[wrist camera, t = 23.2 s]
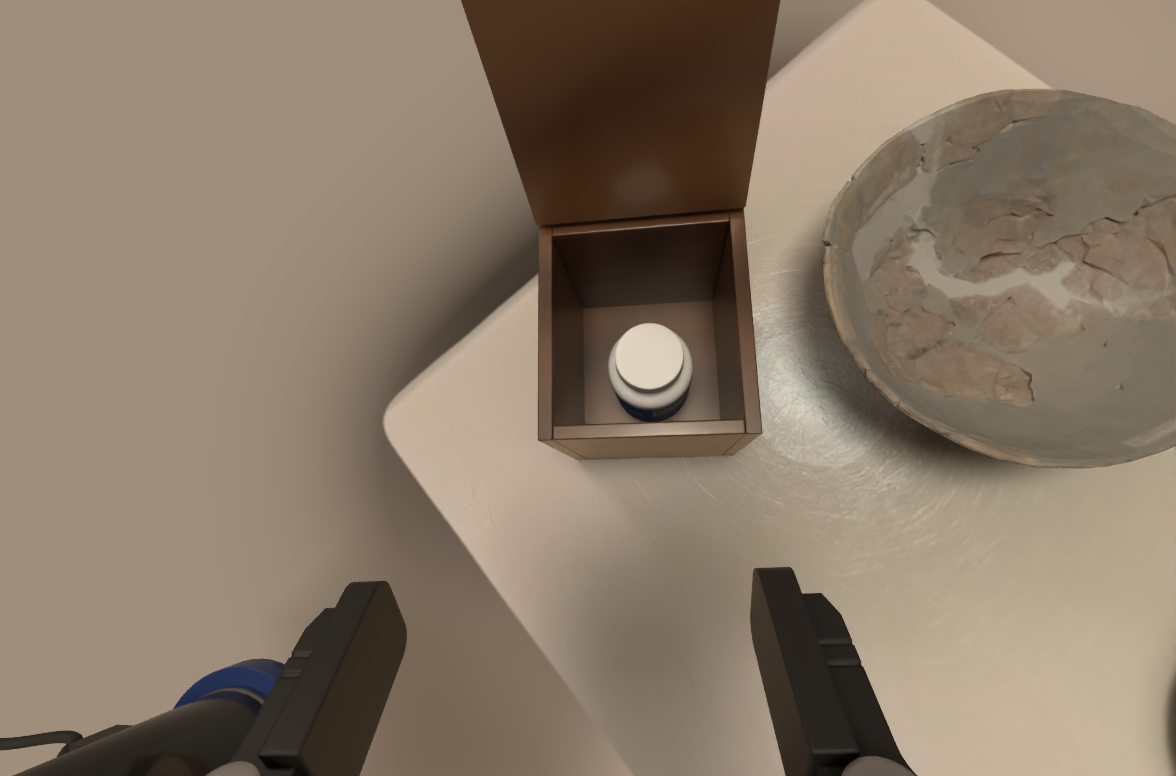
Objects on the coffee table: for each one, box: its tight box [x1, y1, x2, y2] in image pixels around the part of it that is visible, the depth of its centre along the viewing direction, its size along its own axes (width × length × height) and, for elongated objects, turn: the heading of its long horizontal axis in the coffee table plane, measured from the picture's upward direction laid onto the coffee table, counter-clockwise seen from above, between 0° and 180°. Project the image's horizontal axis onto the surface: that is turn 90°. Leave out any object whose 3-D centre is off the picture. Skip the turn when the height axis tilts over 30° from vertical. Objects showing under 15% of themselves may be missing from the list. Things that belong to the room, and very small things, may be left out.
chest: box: [538, 208, 762, 460], centre depth 36 cm, size 13×12×13 cm
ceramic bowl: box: [822, 89, 1176, 468], centre depth 35 cm, size 22×23×10 cm
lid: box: [461, 0, 780, 225], centre depth 24 cm, size 13×12×1 cm
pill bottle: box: [608, 323, 693, 422], centre depth 36 cm, size 6×5×10 cm
